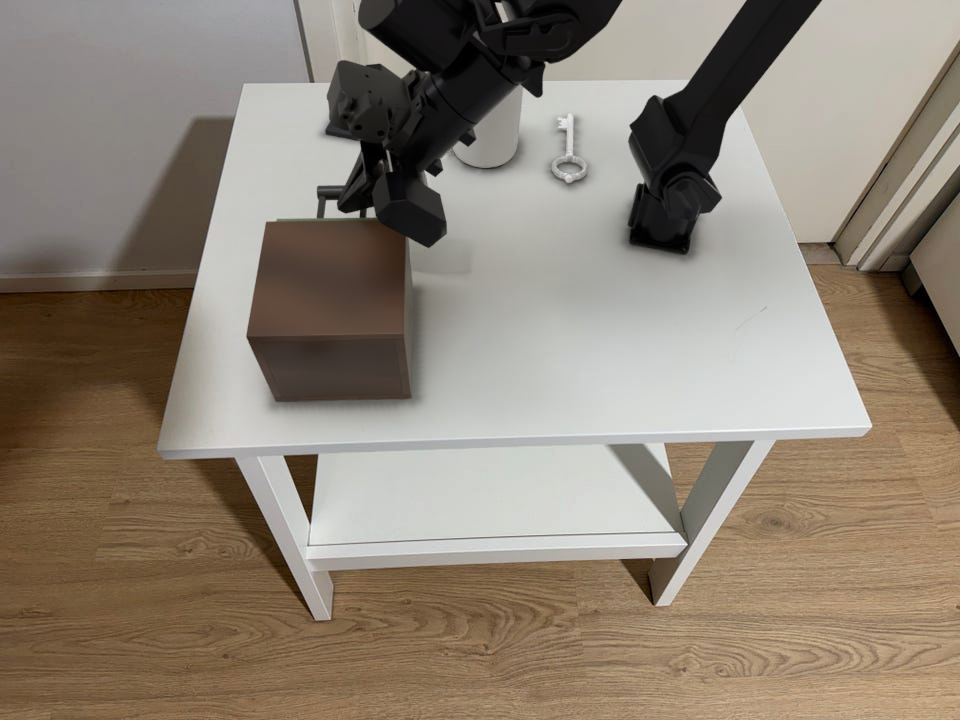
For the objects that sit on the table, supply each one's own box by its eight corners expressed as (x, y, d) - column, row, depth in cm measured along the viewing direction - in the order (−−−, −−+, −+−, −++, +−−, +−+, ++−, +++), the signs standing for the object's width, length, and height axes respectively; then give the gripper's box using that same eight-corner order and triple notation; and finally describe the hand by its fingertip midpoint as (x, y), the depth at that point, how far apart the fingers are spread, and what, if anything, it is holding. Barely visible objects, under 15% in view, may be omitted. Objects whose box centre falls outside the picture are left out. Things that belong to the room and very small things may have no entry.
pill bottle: (512, 174, 82) (521, 59, 70) (445, 164, 83) (441, 48, 70) (523, 130, 86) (533, 14, 74) (459, 121, 87) (458, 4, 74)
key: (550, 183, 81) (587, 185, 81) (551, 177, 80) (588, 179, 80) (553, 116, 88) (587, 118, 88) (554, 110, 87) (588, 112, 87)
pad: (371, 117, 87) (371, 113, 87) (360, 140, 85) (359, 136, 84) (338, 111, 88) (337, 107, 87) (325, 134, 85) (324, 130, 85)
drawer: (300, 241, 75) (282, 178, 67) (408, 240, 75) (402, 177, 68) (282, 375, 66) (259, 319, 58) (405, 372, 66) (397, 317, 59)
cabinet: (290, 294, 72) (265, 221, 63) (413, 292, 72) (406, 219, 63) (275, 401, 65) (245, 336, 56) (411, 398, 66) (403, 333, 57)
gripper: (366, -29, 57) (261, 100, 65) (396, 118, 47) (268, 250, 55) (461, 49, 65) (357, 157, 73) (504, 191, 55) (377, 297, 63)
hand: (340, 208), depth 66 cm, fingers closed
